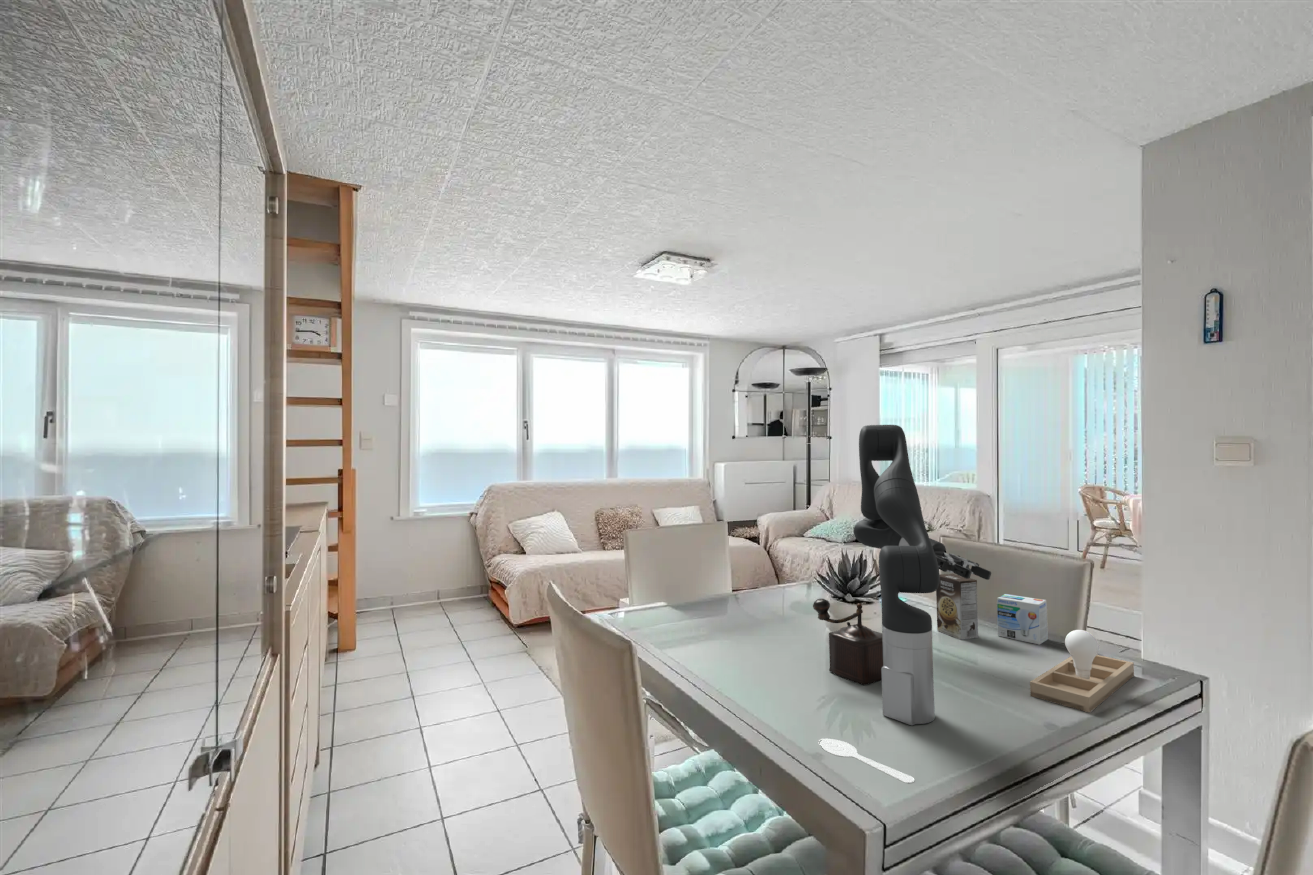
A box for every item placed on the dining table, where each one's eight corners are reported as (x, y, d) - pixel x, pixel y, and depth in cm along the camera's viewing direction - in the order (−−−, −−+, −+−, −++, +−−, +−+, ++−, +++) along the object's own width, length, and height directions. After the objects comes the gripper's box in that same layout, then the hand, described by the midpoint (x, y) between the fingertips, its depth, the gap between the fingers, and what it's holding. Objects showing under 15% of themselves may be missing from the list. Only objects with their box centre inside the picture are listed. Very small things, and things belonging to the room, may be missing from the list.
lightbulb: (1106, 687, 126) (1104, 635, 127) (1074, 685, 128) (1072, 633, 128) (1091, 676, 132) (1089, 626, 133) (1061, 674, 134) (1059, 625, 134)
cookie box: (936, 630, 171) (934, 574, 171) (954, 628, 173) (952, 572, 173) (961, 640, 162) (959, 580, 162) (979, 637, 164) (977, 579, 164)
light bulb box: (996, 636, 165) (995, 597, 165) (1005, 631, 169) (1004, 593, 170) (1041, 645, 157) (1039, 604, 157) (1048, 639, 161) (1047, 599, 162)
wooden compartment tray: (1089, 712, 117) (1089, 697, 117) (1030, 696, 125) (1029, 681, 125) (1134, 675, 135) (1133, 662, 135) (1079, 663, 143) (1079, 650, 143)
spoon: (904, 790, 92) (904, 786, 92) (810, 745, 106) (810, 742, 106) (922, 778, 95) (922, 775, 95) (829, 736, 110) (829, 734, 110)
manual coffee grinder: (856, 662, 147) (854, 589, 147) (894, 676, 137) (892, 598, 138) (810, 675, 139) (808, 598, 139) (848, 691, 129) (845, 608, 130)
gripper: (909, 534, 152) (968, 559, 138) (941, 538, 159) (1000, 562, 146) (900, 562, 153) (958, 589, 139) (933, 564, 160) (991, 590, 147)
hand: (980, 575), depth 142 cm, fingers open, 8 cm apart
